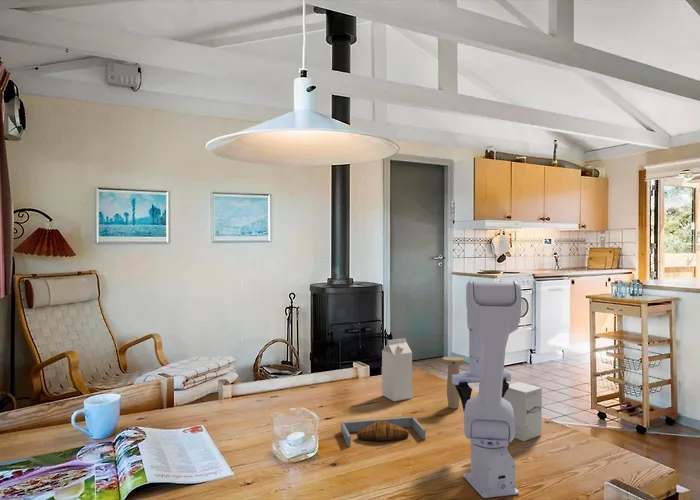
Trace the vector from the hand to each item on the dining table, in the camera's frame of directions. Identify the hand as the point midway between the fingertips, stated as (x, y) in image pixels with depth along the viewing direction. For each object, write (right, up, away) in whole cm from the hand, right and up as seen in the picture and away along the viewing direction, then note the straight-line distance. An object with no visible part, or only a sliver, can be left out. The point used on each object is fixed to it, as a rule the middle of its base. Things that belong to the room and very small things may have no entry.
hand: (481, 412), depth 116 cm
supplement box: (+13, -10, +10) cm, 19 cm away
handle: (0, -9, +31) cm, 32 cm away
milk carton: (-16, -9, +41) cm, 45 cm away
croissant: (-23, -10, +8) cm, 27 cm away
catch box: (-23, -9, +9) cm, 27 cm away
